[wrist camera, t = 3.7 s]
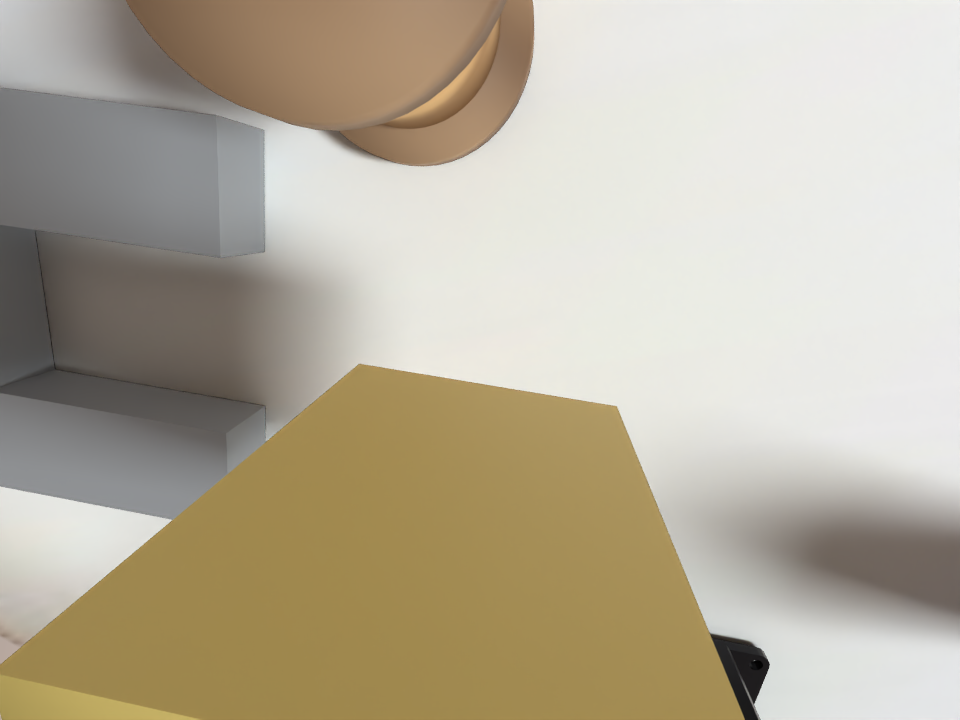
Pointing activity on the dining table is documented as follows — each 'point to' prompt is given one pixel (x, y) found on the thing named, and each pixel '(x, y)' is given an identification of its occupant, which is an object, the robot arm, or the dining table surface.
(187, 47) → the ball
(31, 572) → the dining table surface
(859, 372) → the dining table surface
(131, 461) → the gray u-shaped block
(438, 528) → the tab
